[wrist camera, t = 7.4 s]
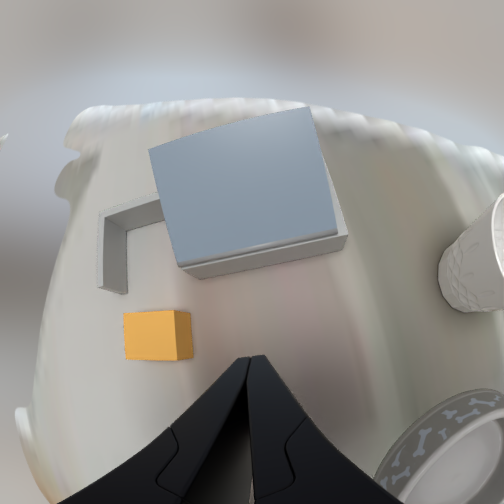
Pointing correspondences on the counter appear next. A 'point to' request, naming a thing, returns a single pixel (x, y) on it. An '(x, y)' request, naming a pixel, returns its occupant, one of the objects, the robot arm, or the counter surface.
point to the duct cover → (244, 187)
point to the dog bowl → (450, 453)
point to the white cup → (476, 264)
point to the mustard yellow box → (158, 335)
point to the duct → (150, 211)
